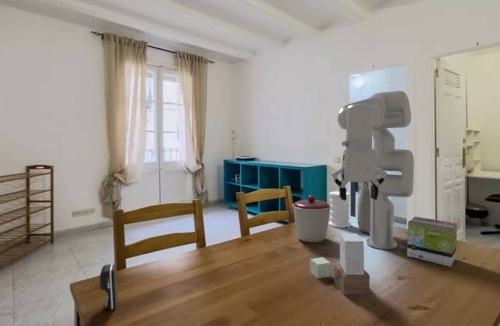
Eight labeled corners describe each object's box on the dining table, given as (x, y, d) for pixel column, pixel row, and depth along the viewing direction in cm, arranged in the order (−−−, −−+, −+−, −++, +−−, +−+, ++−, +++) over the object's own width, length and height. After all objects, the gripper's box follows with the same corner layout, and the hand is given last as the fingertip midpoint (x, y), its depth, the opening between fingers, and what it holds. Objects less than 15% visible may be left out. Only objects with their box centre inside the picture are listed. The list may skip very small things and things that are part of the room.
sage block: (310, 272, 104) (310, 259, 104) (322, 270, 106) (322, 257, 106) (317, 278, 100) (317, 264, 99) (330, 276, 101) (330, 262, 101)
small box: (364, 275, 88) (364, 241, 88) (345, 275, 89) (345, 241, 88) (357, 264, 96) (357, 233, 96) (339, 264, 97) (339, 233, 96)
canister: (324, 248, 127) (324, 200, 126) (286, 241, 137) (285, 197, 136) (335, 236, 143) (336, 194, 141) (300, 231, 152) (300, 191, 151)
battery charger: (103, 300, 88) (101, 263, 87) (117, 297, 89) (115, 261, 88) (100, 312, 81) (98, 272, 81) (115, 310, 83) (113, 270, 82)
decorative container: (347, 229, 155) (348, 195, 153) (326, 226, 160) (326, 193, 159) (352, 223, 164) (352, 192, 163) (331, 221, 170) (331, 190, 169)
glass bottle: (353, 230, 152) (353, 177, 150) (369, 228, 155) (370, 175, 153) (367, 236, 142) (367, 179, 141) (383, 233, 146) (384, 178, 144)
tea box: (406, 257, 117) (407, 220, 116) (413, 250, 124) (414, 215, 123) (451, 267, 106) (453, 227, 105) (456, 259, 114) (457, 221, 113)
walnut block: (334, 282, 97) (334, 265, 96) (358, 281, 97) (358, 264, 97) (343, 295, 89) (343, 276, 88) (369, 294, 89) (369, 275, 89)
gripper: (335, 145, 87) (335, 202, 88) (392, 144, 87) (391, 201, 89) (327, 145, 95) (327, 197, 96) (380, 144, 95) (380, 196, 96)
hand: (358, 199), depth 92 cm, fingers open, 9 cm apart
